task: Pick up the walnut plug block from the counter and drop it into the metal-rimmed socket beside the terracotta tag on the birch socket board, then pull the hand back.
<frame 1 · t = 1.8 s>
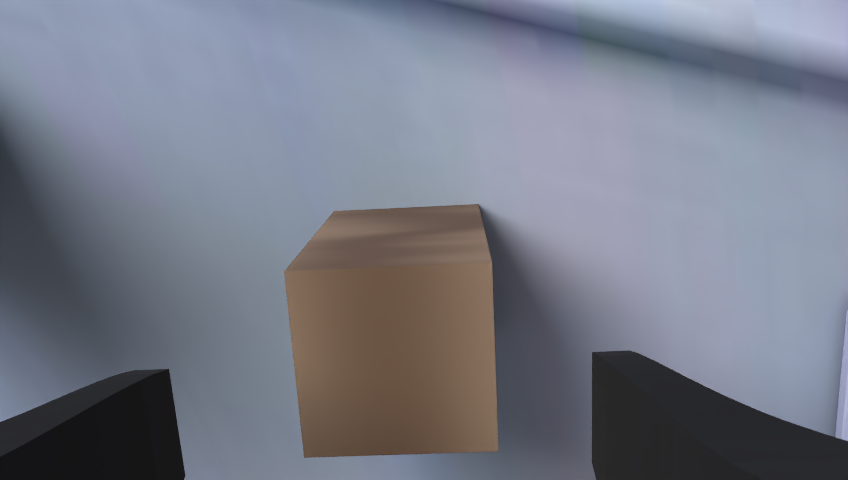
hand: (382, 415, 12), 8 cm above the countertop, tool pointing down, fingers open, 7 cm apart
walnut plug: (410, 277, 19), on the countertop
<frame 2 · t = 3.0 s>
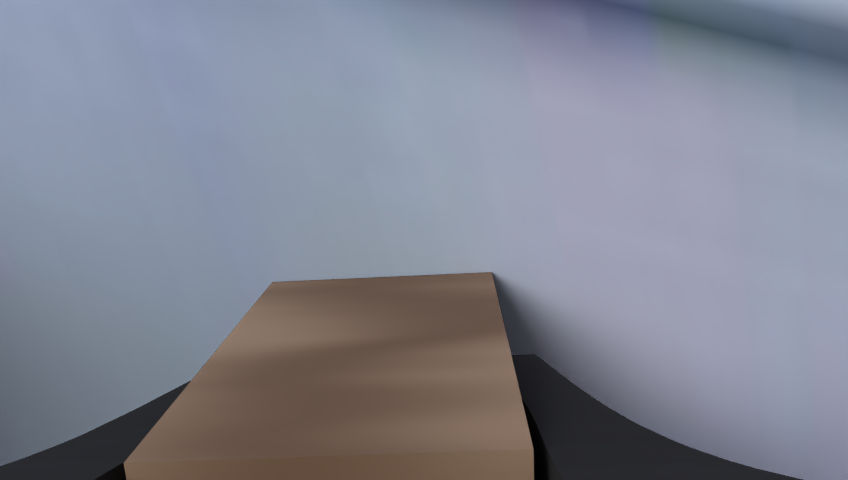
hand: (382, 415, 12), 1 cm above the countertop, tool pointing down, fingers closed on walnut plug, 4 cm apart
walnut plug: (388, 378, 13), on the countertop, touching gripper
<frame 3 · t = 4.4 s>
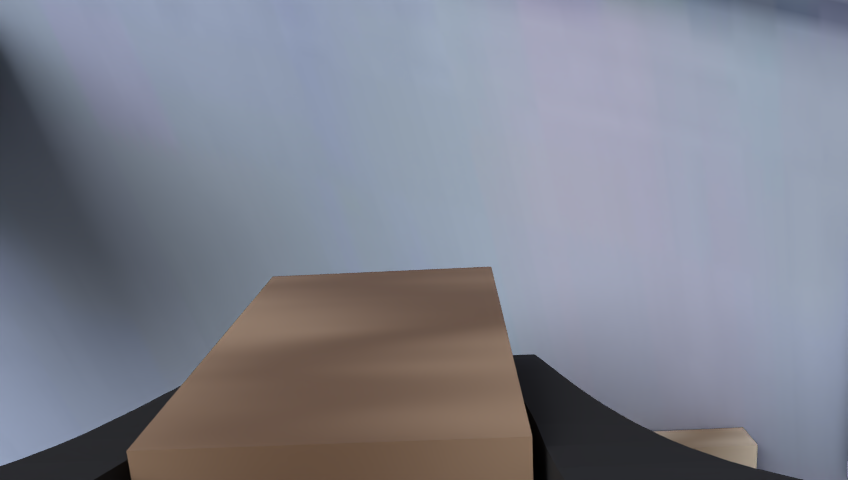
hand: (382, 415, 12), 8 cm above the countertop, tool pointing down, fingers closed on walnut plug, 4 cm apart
walnut plug: (388, 373, 13), point 7 cm above the countertop, touching gripper
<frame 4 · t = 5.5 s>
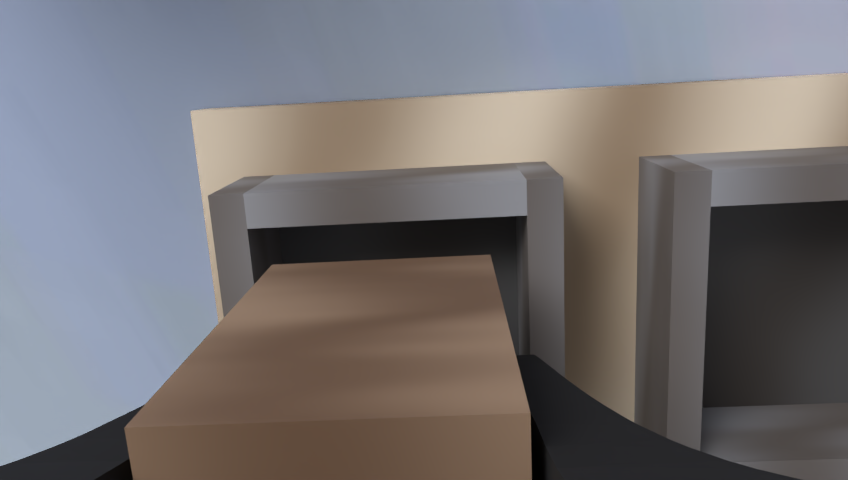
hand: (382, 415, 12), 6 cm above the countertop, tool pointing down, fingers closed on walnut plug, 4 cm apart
walnut plug: (387, 361, 13), point 5 cm above the countertop, touching gripper
socket board: (583, 328, 18), on the countertop
when the fingers open (4 cm above the countertop, at t = 6.2 s): walnut plug drops 2 cm, resting on socket board.
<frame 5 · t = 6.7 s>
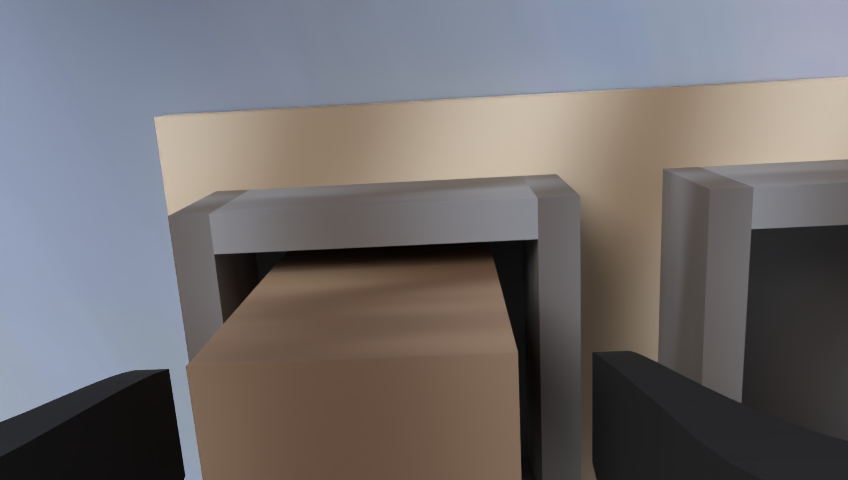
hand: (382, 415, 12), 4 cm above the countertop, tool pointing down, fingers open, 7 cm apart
walnut plug: (395, 332, 15), point 1 cm above the countertop, touching socket board
socket board: (597, 359, 16), on the countertop
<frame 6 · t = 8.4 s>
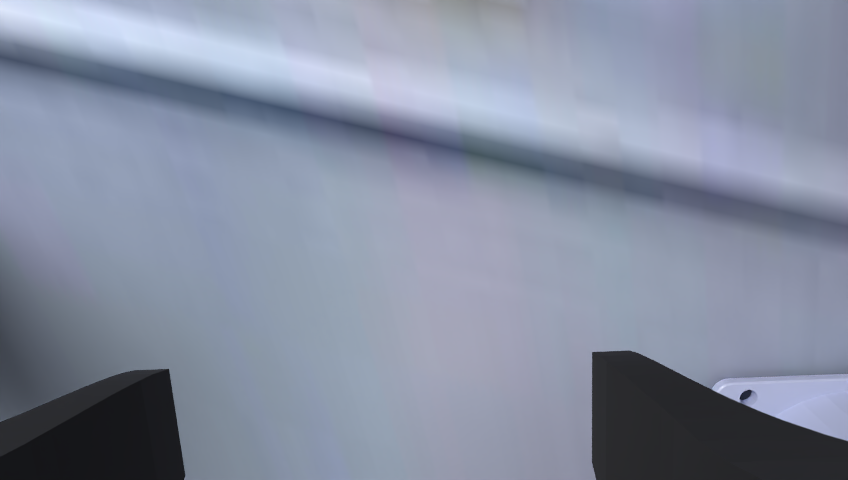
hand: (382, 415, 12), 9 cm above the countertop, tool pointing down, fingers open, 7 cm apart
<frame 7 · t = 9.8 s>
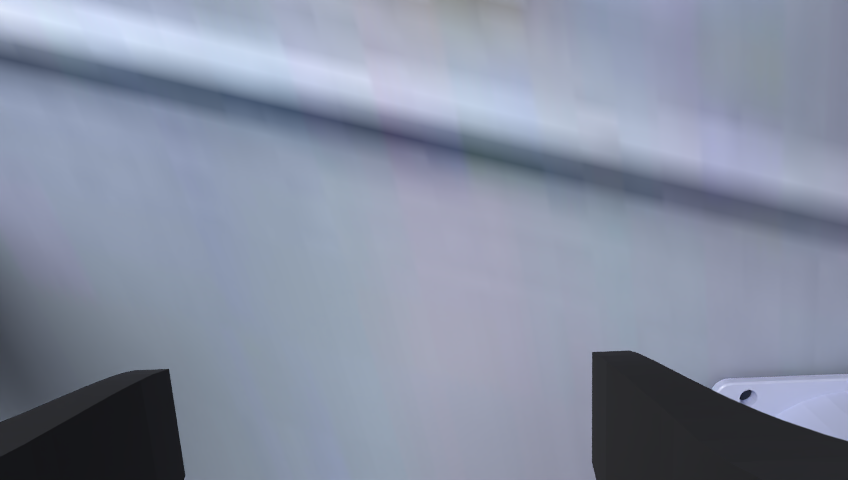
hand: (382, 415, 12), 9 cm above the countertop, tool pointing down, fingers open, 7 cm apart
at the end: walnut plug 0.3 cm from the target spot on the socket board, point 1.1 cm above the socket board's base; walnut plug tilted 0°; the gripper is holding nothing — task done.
